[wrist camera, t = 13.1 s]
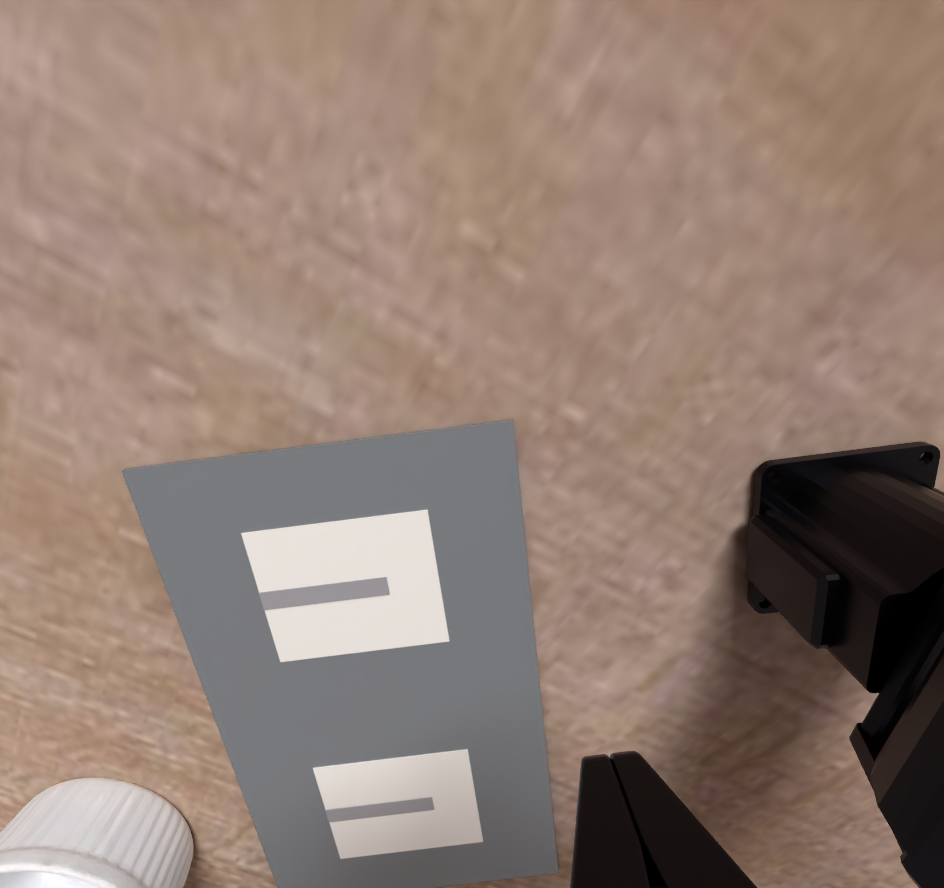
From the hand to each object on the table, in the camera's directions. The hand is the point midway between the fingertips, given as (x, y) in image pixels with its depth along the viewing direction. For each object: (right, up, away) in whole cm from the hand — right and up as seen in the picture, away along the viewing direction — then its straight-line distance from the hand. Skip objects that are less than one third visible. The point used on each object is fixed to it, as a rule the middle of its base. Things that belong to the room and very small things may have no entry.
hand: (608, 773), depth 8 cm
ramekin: (-19, -14, +17) cm, 29 cm away
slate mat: (-6, -6, +15) cm, 17 cm away
